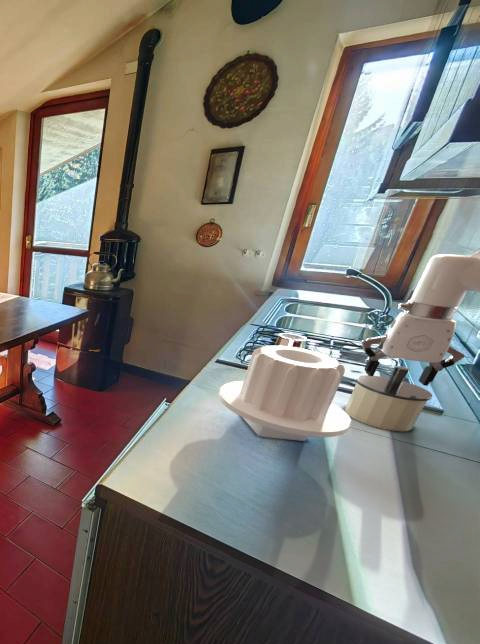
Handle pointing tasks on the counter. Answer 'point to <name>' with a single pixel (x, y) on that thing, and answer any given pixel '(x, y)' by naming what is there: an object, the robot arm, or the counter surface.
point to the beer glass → (291, 340)
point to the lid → (395, 386)
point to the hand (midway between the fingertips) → (395, 378)
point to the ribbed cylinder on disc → (289, 394)
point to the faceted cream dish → (383, 410)
